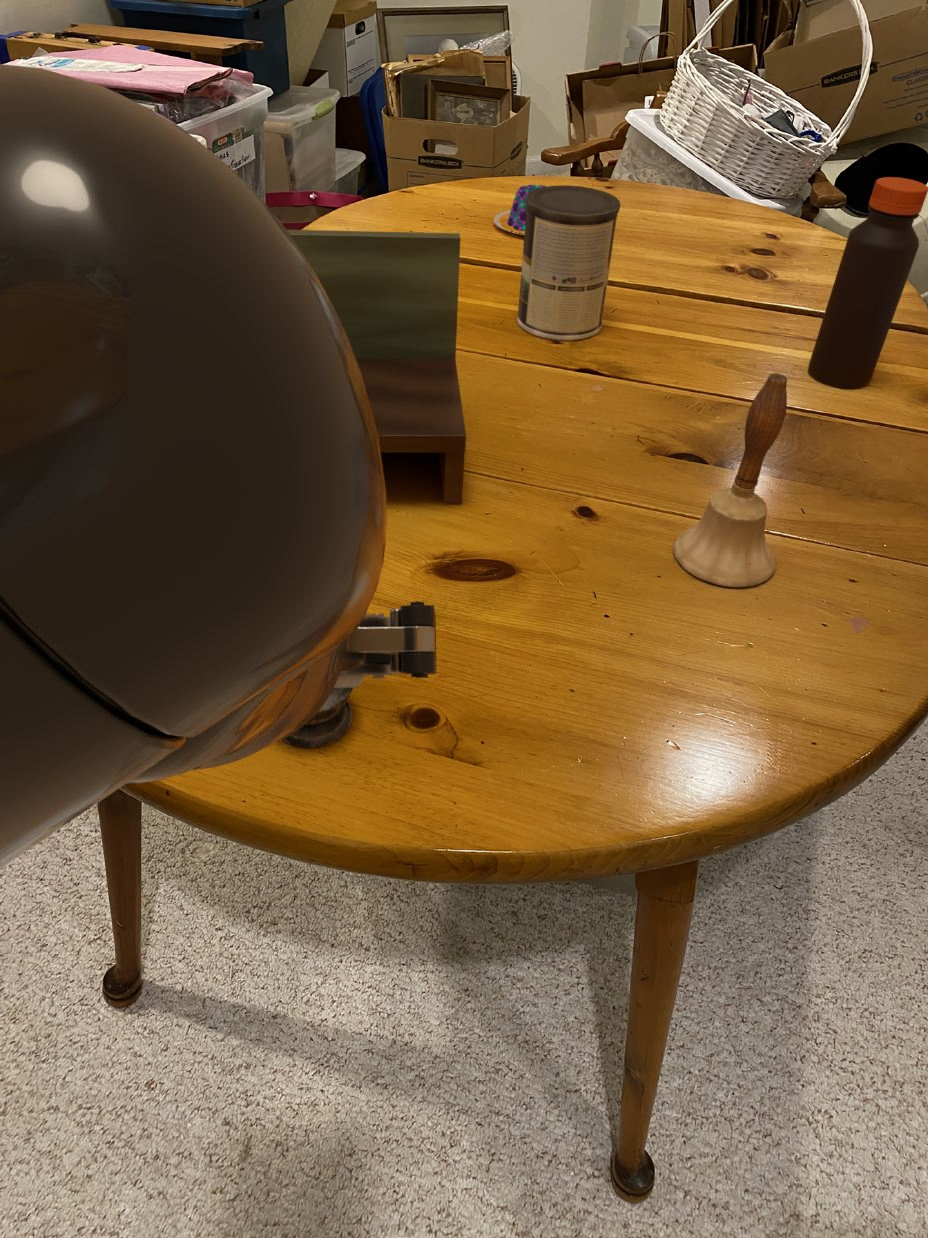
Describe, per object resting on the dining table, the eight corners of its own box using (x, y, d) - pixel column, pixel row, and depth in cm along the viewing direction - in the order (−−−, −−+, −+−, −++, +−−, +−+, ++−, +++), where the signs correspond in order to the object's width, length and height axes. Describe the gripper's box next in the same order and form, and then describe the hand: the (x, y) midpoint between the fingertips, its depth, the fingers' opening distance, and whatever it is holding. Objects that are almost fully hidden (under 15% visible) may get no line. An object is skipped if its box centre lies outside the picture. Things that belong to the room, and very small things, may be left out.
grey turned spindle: (369, 696, 62) (365, 553, 54) (337, 761, 58) (327, 616, 50) (288, 677, 63) (272, 534, 55) (250, 739, 59) (227, 593, 51)
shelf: (462, 507, 80) (472, 303, 68) (226, 507, 78) (195, 298, 66) (452, 420, 91) (459, 232, 79) (246, 419, 89) (222, 227, 78)
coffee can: (499, 315, 111) (507, 191, 102) (567, 300, 115) (581, 180, 106) (550, 348, 105) (564, 219, 95) (620, 331, 109) (640, 206, 100)
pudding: (568, 245, 130) (572, 206, 127) (485, 235, 132) (487, 196, 129) (579, 219, 139) (584, 182, 136) (502, 210, 141) (504, 173, 138)
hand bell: (713, 516, 80) (759, 341, 70) (795, 562, 76) (858, 382, 65) (652, 551, 76) (692, 371, 65) (735, 602, 71) (792, 417, 61)
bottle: (873, 393, 100) (945, 197, 87) (809, 384, 100) (870, 190, 87) (866, 366, 105) (932, 177, 92) (804, 358, 105) (861, 170, 92)
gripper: (452, 501, 27) (429, 569, 43) (-50, 501, 26) (119, 571, 42) (456, 758, 27) (432, 730, 43) (-56, 769, 26) (117, 736, 42)
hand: (276, 651), depth 43 cm, fingers open, 8 cm apart
